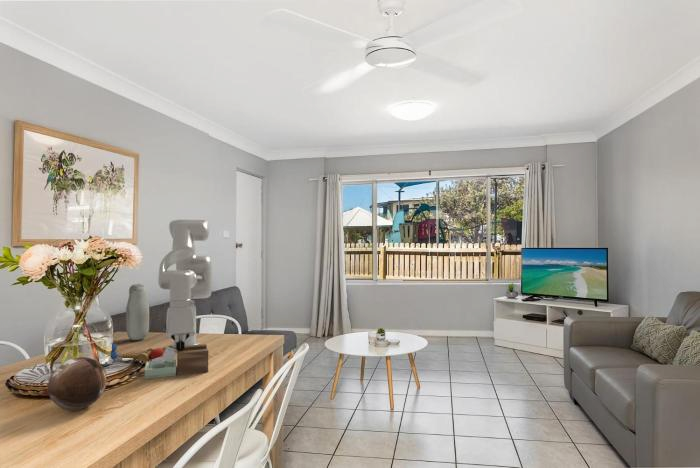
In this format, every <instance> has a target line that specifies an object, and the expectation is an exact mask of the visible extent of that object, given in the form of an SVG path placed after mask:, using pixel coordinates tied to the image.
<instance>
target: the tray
mask: <svg viewBox="0 0 700 468" xmlns="http://www.w3.org/2000/svg"><path fill="white" fill-rule="evenodd" d="M164 363H165V368H158V369H153V368H152V363H151V361H150V360H149V362H147V363H146V364H145V368H144V379H146V380H147V379H153V378H154V379H155V378H163V377H173V376H177V358H174V360H173V362H169V361H166V360H164Z"/></svg>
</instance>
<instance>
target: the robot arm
mask: <svg viewBox="0 0 700 468" xmlns="http://www.w3.org/2000/svg"><path fill="white" fill-rule="evenodd" d="M168 229H169V234H170V236H171V237H172V248H171V249H172V250H171V251H170V252H168V253H167V254H166V255H165V256H164V257H163V258H162V259H161V261H160V263H159V268H158V269H159V270H158V276H157V277H158V282H157V283H158V285H159V288H160V289H162V290H169V307H168V308H167V311H166V319H165V320H166V323H165V338H167V339H172V340H173V341H174V342H172V343H171V344H170V346H171V347H170V348H173V349H175V350H178V352H179V351H183V350H184V346H187V345H198V344H201V343H200V341H198V340H197V308H196V307H197V306H196V304H195V300H196V299H197V300H198V299H208V298H210V297H211V295H212V291H213V290H212V289H213V288H212V287H213V285H212V284H213V279H212V278H213V275H212V272H213V271H212V270H213V269H212V268H213V267H212V260H211V258H210V257H209V256H207V255H196V245H195V242H194V241H196V242H197V241H201V242H202V241H203V242H204V241H207V240H208V238H209V235H210V225H209V222H208V220H206V219H175V220H171V221H170V222H169V226H168ZM173 265H175V268H176V269H175V270H168V269H169V268H170V267H172V266H173ZM197 276H198V277H201V278H198V277H197ZM193 299H195V300H193Z"/></svg>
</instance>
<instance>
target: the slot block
mask: <svg viewBox="0 0 700 468" xmlns="http://www.w3.org/2000/svg"><path fill="white" fill-rule="evenodd" d="M207 347H208V345H207V343H200V344H198V345H187V346H184V350H183V351H179V352H178V350H177V354H176V376H182V375H190V374H191V375H192V374H200V373H209V349H208V348H207Z"/></svg>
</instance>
